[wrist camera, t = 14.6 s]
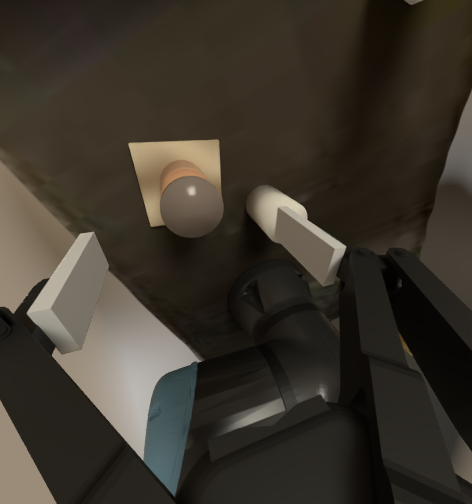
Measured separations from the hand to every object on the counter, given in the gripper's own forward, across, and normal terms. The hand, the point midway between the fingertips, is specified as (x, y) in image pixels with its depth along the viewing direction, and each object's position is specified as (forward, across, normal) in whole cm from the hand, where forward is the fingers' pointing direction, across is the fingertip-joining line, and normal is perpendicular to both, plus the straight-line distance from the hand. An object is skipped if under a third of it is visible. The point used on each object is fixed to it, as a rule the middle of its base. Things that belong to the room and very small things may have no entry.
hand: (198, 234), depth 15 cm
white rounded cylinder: (+12, -10, +3) cm, 16 cm away
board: (+11, 0, -1) cm, 11 cm away
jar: (+11, 0, -1) cm, 11 cm away
